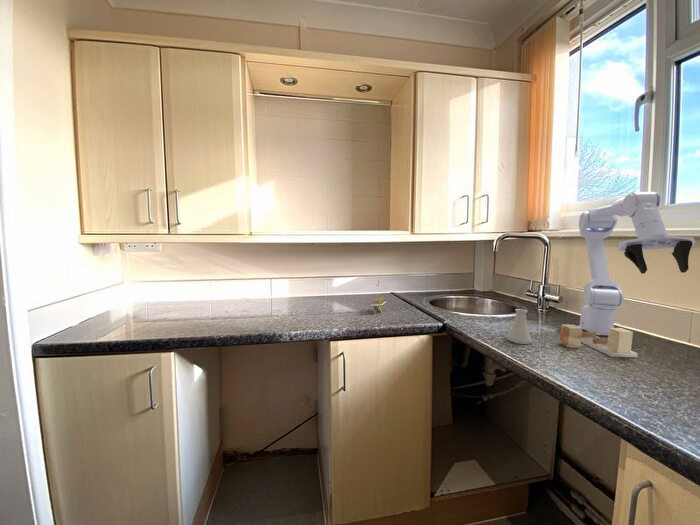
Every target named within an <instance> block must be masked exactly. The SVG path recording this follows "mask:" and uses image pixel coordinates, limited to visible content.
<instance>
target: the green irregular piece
mask: <svg viewBox="0 0 700 525" xmlns="http://www.w3.org/2000/svg"><path fill="white" fill-rule="evenodd" d="M374 300H375V301H373V302H371V303H370V306H373V315H376V314H377V313H379V312H381V313H382V312H384V304H386V303H387V301H386V300H385V297H384V296H383V297H382V296H379V297H377V298H375V299H374Z"/></svg>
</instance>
